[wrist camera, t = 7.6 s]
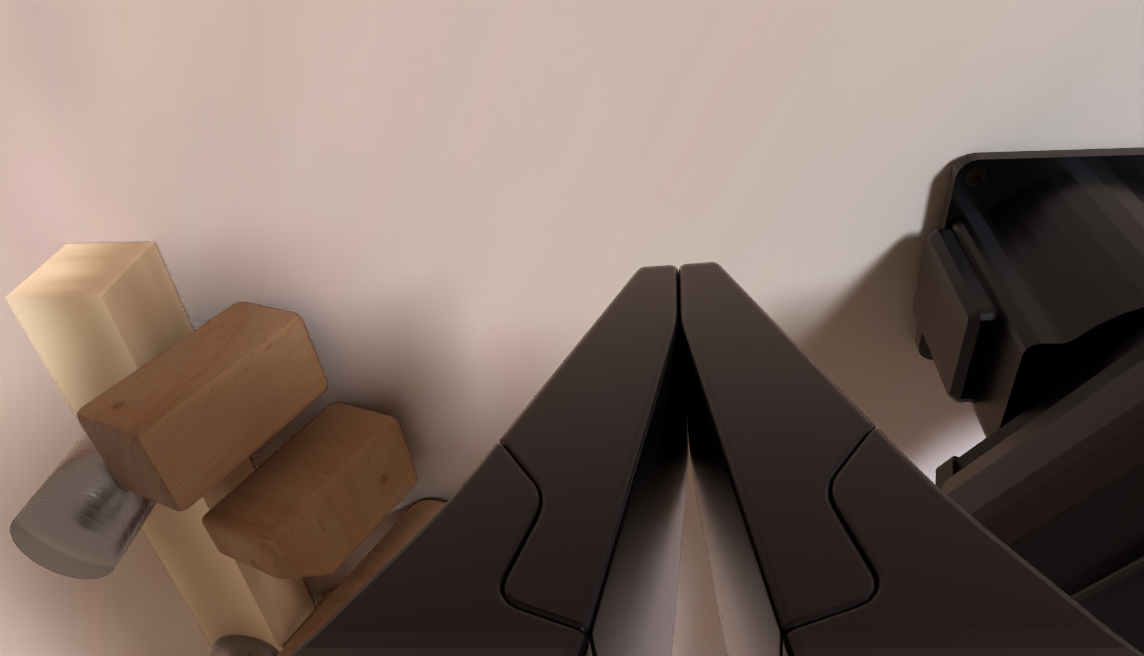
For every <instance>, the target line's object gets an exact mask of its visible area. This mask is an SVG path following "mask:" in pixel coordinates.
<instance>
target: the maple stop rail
mask: <svg viewBox="0 0 1144 656" xmlns="http://www.w3.org/2000/svg"><path fill="white" fill-rule="evenodd" d="M5 298H6V300H7V301H8V303H9V305H10V307H11V308H12V310H13V312H14V313H15V315H16V317H17V318H18V320H19V322H20V323H21V325H22V327H23V329H24V330H25V332H26V334H27V335H28V337H29V339H30V340H31V342H32V344H33V346H34V347H35V349H36V351H37V352H38V354H39V356H40V357H41V359H42V361H43V362H44V364H45V366H46V368H47V369H48V371H49V373H50V374H51V376H52V378H53V379H54V381H55V383H56V384H57V386H58V388H59V390H60V391H61V393H62V395H63V396H64V398H65V400H66V401H67V403H68V405H69V407H70V408H71V410H72V412H73V413H74V415H75V417H76V418H77V420H78V417H77V412H78V411H79V409H80V408H81V407H83V406H84V405H85V404H87V403H88V402H90V401H91V400H93V399H94V398H96V397H97V396H99V395H100V394H102V393H103V392H105V391H106V390H108V389H109V388H111V387H112V386H114V385H115V384H117V383H118V382H119V381H121V380H122V379H124V378H125V377H127V376H128V375H130V374H131V373H133V372H134V371H136V370H137V369H139V368H140V367H142V366H143V365H145V364H146V363H148V362H149V361H151V360H152V359H153V358H155V357H156V356H158V355H159V354H161V353H162V352H164V351H165V350H167V349H168V348H170V347H171V346H173V345H174V344H176V343H177V342H179V341H180V340H182V339H183V338H185V337H186V336H187V335H189V334H190V333H192V332H193V331H194V330H193V328H192V326H191V323H190V321H189V319H188V316H187V314H186V312H185V310H184V307H183V305H182V303H181V300H180V298H179V296H178V294H177V291H176V289H175V287H174V284H173V282H172V280H171V278H170V275H169V273H168V271H167V269H166V266H165V264H164V262H163V259H162V257H161V255H160V253H159V250H158V248H157V246H156V243H155V242H133V243H83V244H66V245H65V246H64V247H63V248H61V249H60V250H59V251H58V252H57V253H56V254H55V255H53V256H52V257H51V258H50V259H49V260H48V261H46V262H45V263H44V264H43V265H42V266H41V267H40V268H38V269H37V270H36V271H35V272H34V273H33V274H32V275H30V276H29V277H28V278H27V279H26V280H25V281H24V282H22V283H21V284H20V285H19V286H18V287H17V288H15V289H14V290H13V291H12V292H11V293H10V294H9V295H7V296H6V297H5ZM78 422H79V420H78ZM79 423H80V422H79ZM80 425H81V424H80ZM81 427H82V425H81ZM82 429H83V427H82ZM83 430H84V429H83ZM84 432H85V430H84ZM254 471H255V469H254V467H253V465H252V462H251V460H250V458H249V457H248V458H247V459H246V460H245V461H244V462H242V463H241V464H240V465H239V466H238V467H237V468H235V469H234V470H233V471H232V472H231V473H230V474H228V475H227V476H226V477H225V478H224V479H223V480H221V481H220V482H219V483H218V484H217V485H216V486H214V487H213V488H212V489H211V490H210V491H209V492H207V493H206V494H205V495H204V496H203V497H202V498H200V499H199V500H198V501H197V502H196V503H195V504H193V505H192V506H191V507H190V508H189V509H186V510H184V511H179V512H178V511H175V510H173V509H171V508H168V507H166V506H164V505H161V504H159V503H157V504H156V505H155V507H154V508H153V510H152V511H151V513H150V514H149V516H148V517H147V519H146V520H145V522H144V524H143V525H142V527H141V529H142V530H143V532H144V534H145V535H146V537H147V539H148V540H149V542H150V544H151V545H152V547H153V549H154V551H155V552H156V554H157V556H158V557H159V559H160V561H161V562H162V564H163V566H164V568H165V569H166V571H167V573H168V574H169V576H170V578H171V579H172V581H173V583H174V584H175V586H176V588H177V590H178V591H179V593H180V595H181V596H182V598H183V600H184V601H185V603H186V605H187V606H188V608H189V610H190V612H191V613H192V615H193V617H194V618H195V620H196V622H197V623H198V625H199V627H200V629H201V630H202V632H203V634H204V635H205V637H206V639H207V640H208V642H209V644H210V645H211V647H213V645H214V643H215V642H216V641H217V640H218V639H219V638H221V637H223V636H227V635H245V636H250V637H254V638H257V639H260V640H263V641H265V642H267V643H269V644H270V645H272V646H274V647H275V648H276V649H277V650H278V651H281V650H282V649H283V648H282V645H283V644H284V643H285V642H286V641H287V639H288V638H289V637H290V636H291V635H292V634H293V633H294V632H295V631H296V630H297V628H298V627H299V626H300V625H301V624H302V623H303V622H304V621H305V620H306V618H307V617H308V616H309V615H310V614H311V613H312V612H313V611H314V610H315V606H314V604H313V602H312V599H311V597H310V595H309V593H308V590H307V588H306V586H305V583H304V581H303V579H302V577H301V578H289V579H278V578H275V577H273V576H270V575H268V574H266V573H264V572H262V571H259V570H257V569H255V568H253V567H250V566H248V565H246V564H244V563H241V562H239V561H237V560H235V559H233V558H230V557H228V556H226V555H224V554H221V553H220V552H219V551H218V549H217V548H216V546H215V544H214V542H213V541H212V539H211V537H210V535H209V534H208V532H207V530H206V529H205V527H204V525H203V523H202V518H203V517H204V515H205V514H206V513H207V512H208V511H209V510H210V509H212V508H213V507H214V506H215V505H216V504H217V503H218V502H220V501H221V500H222V499H223V498H224V497H225V496H226V495H228V494H229V493H230V492H231V491H232V490H233V489H234V488H235V487H237V486H238V485H239V484H240V483H241V482H242V481H243V480H245V479H246V478H247V477H248V476H249V475H250V474H251V473H253V472H254Z"/></svg>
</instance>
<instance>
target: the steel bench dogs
mask: <svg viewBox="0 0 1144 656" xmlns="http://www.w3.org/2000/svg"><path fill="white" fill-rule="evenodd" d="M156 504H157V503H156V502H154V501H152V500H149V499H147V498H145V497H142V496H140V495H138V494H135V493H133V492H131V491H128V490H126V489H124V488H122V487H120V486H119V484H118V483H117V481H116V480H115V478H114V476H113V475H112V473H111V472H110V470H109V468H108V467H107V465H106V464H105V462H104V460H103V459H102V457H101V456H100V454H99V452H98V451H97V449H96V448H95V446H94V444H93V443H92V441H91V440H90V438H89V437H88V435H87V433H86V432H85V434H84V435H83V436H82V437H81V438H80V440H79V441H78V442H77V443H76V445H75V446H74V447H73V448H72V449H71V451H70V452H69V453H68V454H67V456H66V457H65V458H64V459H63V460H62V462H61V463H60V464H59V465H58V467H57V468H56V469H55V470H54V471H53V473H52V474H51V475H50V476H49V478H48V479H47V480H46V481H45V482H44V484H43V485H42V486H41V487H40V489H39V490H38V491H37V492H36V493H35V495H34V496H33V497H32V498H31V499H30V501H29V502H28V503H27V504H26V506H25V507H24V508H23V509H22V510H21V512H20V513H19V514H18V515H17V517H16V518H15V519H14V520H13V521H12V523H11V527H10V533H11V537H12V539H13V541H14V542H15V544H16V545H17V547H18V548H19V549H20V550H21V551H22V552H23V553H24V554H25V555H26V556H27V557H29V558H30V559H31V560H33V561H34V562H36V563H37V564H39V565H41V566H42V567H44V568H46V569H48V570H51V571H53V572H56V573H58V574H61V575H65V576H68V577H73V578H79V579H96V578H101V577H104V576H106V575H108V574H110V573H111V572H112V571H113V569H114V568H115V566H116V565H117V563H118V562H119V560H120V559H121V557H122V556H123V554H124V553H125V551H126V549H127V548H128V546H129V545H130V543H131V542H132V540H133V539H134V537H135V536H136V534H137V533H138V531H139V530H140V528H141V527H142V525H143V524H144V522H145V520H146V519H147V517H148V516H149V514H150V513H151V511H152V510H153V508H154V507H155V505H156ZM279 653H280V651H278V650H277V649H276V648H275V647H274V646H272V645H270V644H269V643H267V642H265V641H263V640H260V639H257V638H254V637H250V636H245V635H227V636H223V637H221V638H219V639H218V640H217V641H216V642H215V643H214V645H213V647H212V649H211V651H210V654H209V656H277V655H278V654H279Z"/></svg>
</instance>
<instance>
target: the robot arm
mask: <svg viewBox="0 0 1144 656" xmlns="http://www.w3.org/2000/svg"><path fill="white" fill-rule="evenodd" d="M977 168H979V169H982V171H981V173H980V174H979V176H977V177H976V178H974V179H970V180H968V179H965V177H966V175H967V173H968V172H970V171H971V170H973V169H977ZM913 311H914V313H915V316H916V318H917V320H918V323H919V325H918V330H917V334H916V345H917V348H918V350H919V353H920V354H921V356H923V357H924V358H926V359H931V360H934V362H935V364H936V367H937V369H938V372H939V374H940V377H941V379H942V382H943V384H944V387H945V389H946V391H947V394H948V395H949V396H950V397H951V398H952V399H953V400H954V401H955V402H956V403H971V404H972V406H973V409H974V411H975V413H976V416H977V418H978V420H979V422H980V425H981V427H982V429H983V432H984V434H985V436H986V439H984V440H983V441H982V442H980V443H979V444H977V445H976V446H975V447H973V448H972V449H970V450H969V451H968V452H966V453H965V454H963V455H962V456H961V457H956V456H953V457H951V458H950V459H949V460H947V461H946V462H944V463H943V464H942V465H940V466H939V467H938V468H937V469H936V485H935V484H934V483H933V482H932V481H931V480H930V479H929V478H928V477H927V476H926V475H925V474H924V473H923V472H922V471H921V470H919V469H918V468H917V467H916V466H915V465H914V464H913V463H912V462H911V461H910V460H909V459H908V458H907V457H906V456H905V455H904V454H903V453H902V452H901V451H900V450H899V449H898V448H897V447H896V446H895V445H894V444H893V443H892V442H891V441H890V440H889V439H888V438H887V437H886V436H885V435H884V434H883V433H882V431H880V430H879V429H875V425H874V424H873V423H872V422H871V421H870V420H869V419H868V418H867V416H866V415H865V414H864V413H863V412H862V411H861V410H860V409H859V408H858V407H857V406H856V405H855V404H854V403H853V402H852V401H851V400H850V399H849V398H848V397H847V396H846V395H845V394H844V393H843V392H842V391H841V390H840V389H839V388H838V387H837V386H836V385H835V384H834V383H833V381H832V380H831V379H830V378H829V377H828V376H827V375H826V374H825V373H824V372H823V371H822V370H821V369H820V368H819V367H818V366H817V365H816V364H815V363H814V362H813V361H812V360H811V359H810V358H809V357H808V356H807V355H806V354H805V353H804V352H803V351H802V350H801V349H800V347H799V346H798V345H797V344H796V343H795V342H794V341H793V340H792V339H791V338H790V337H789V336H788V335H787V334H786V333H785V332H784V331H783V330H782V329H781V328H780V327H779V326H778V325H777V324H776V323H775V322H774V321H773V320H772V319H771V318H770V317H769V316H768V315H767V314H766V312H765V311H764V310H763V309H762V308H761V307H760V306H759V305H758V304H757V303H756V302H755V301H754V300H753V299H752V298H751V297H750V296H749V295H748V294H747V293H746V292H745V291H744V290H743V289H742V288H741V287H740V286H739V285H738V284H737V283H736V282H735V281H734V280H733V278H732V277H731V276H730V275H729V274H728V273H727V272H726V271H725V270H724V269H723V268H722V267H721V266H720V265H719V264H717V263H715V262H708V263H694V264H684V265H682V266H681V267H680V269H679V274H678V269H677V268H676V267H675V266H672V265H666V266H652V267H642V268H640V269H639V270H638V271H637V272H636V273H635V274H634V276H633V277H632V278H631V279H630V280H629V282H628V283H627V284H626V285H625V287H624V288H623V289H622V290H621V291H620V293H619V294H618V295H617V296H616V298H615V299H614V300H613V301H612V303H611V304H610V305H609V306H608V307H607V309H606V310H605V311H604V312H603V314H602V315H601V316H600V317H599V319H598V320H597V321H596V322H595V323H594V325H593V326H592V327H591V328H590V330H589V331H588V332H587V333H586V334H585V336H584V337H583V338H582V339H581V341H580V342H579V343H578V344H577V346H576V347H575V348H574V349H573V350H572V352H571V353H570V354H569V355H568V357H567V358H566V359H565V360H564V362H563V363H562V364H561V365H560V366H559V368H558V369H557V370H556V371H555V373H554V374H553V375H552V376H551V378H550V379H549V380H548V381H547V382H546V384H545V385H544V386H543V387H542V389H541V390H540V391H539V392H538V393H537V395H536V396H535V397H534V398H533V400H532V401H531V402H530V403H529V405H528V406H527V407H526V408H525V409H524V411H523V412H522V413H521V414H520V416H519V417H518V418H517V419H516V421H515V422H514V423H513V424H512V425H511V427H510V428H509V429H508V430H507V432H506V433H505V434H504V435H503V436H502V438H501V439H500V444H496V445H495V446H494V447H493V448H492V450H491V451H490V452H489V453H488V454H487V456H486V457H485V458H484V459H483V461H482V462H481V463H480V464H479V465H478V467H477V468H476V469H475V470H474V471H473V472H472V474H471V475H470V476H469V477H468V478H467V479H466V481H465V482H464V483H463V484H462V485H461V486H460V487H459V489H458V490H457V491H456V492H455V493H454V494H453V495H452V497H451V498H450V499H449V500H448V501H447V502H446V503H445V504H444V505H443V506H442V507H441V508H440V509H439V510H438V512H437V513H436V514H435V515H434V516H433V517H432V518H431V519H430V520H429V521H428V522H427V523H426V524H425V525H424V526H423V527H422V528H421V529H420V530H419V531H418V532H417V533H416V534H415V535H414V536H413V537H412V538H411V539H410V540H409V541H408V542H407V543H406V544H405V545H404V546H403V547H402V548H401V549H400V550H399V551H398V552H397V553H396V554H395V555H394V556H393V557H392V558H391V559H390V560H389V561H388V562H387V563H386V564H385V565H383V566H382V567H381V568H380V569H379V570H378V571H377V572H376V573H375V574H374V575H373V576H372V577H371V578H370V579H369V580H368V581H367V582H366V583H365V584H364V585H363V586H362V587H361V588H360V589H359V590H358V591H357V592H356V593H355V594H354V595H353V596H352V597H351V598H350V599H349V600H348V601H346V602H345V603H344V604H343V605H342V606H341V607H340V608H339V609H338V610H337V611H336V612H335V613H334V614H333V615H332V616H331V617H330V618H329V619H328V620H327V621H326V622H325V623H324V624H323V625H322V626H321V627H320V628H319V629H318V630H317V631H316V632H315V633H313V634H312V635H311V636H310V637H309V638H308V639H307V640H306V641H305V642H303V643H302V644H301V645H300V646H299V647H298V648H297V649H296V650H294V651H293V652H292V653H290V654H289V655H288V656H671V654H672V643H673V632H674V621H675V610H676V599H677V588H678V578H679V567H680V556H681V545H682V534H683V523H684V512H685V501H686V490H687V478H688V461H689V457H688V437H689V449H690V461H691V467H692V473H693V480H694V485H695V490H696V496H697V501H698V506H699V511H700V517H701V522H702V527H703V532H704V538H705V543H706V548H707V553H708V559H709V564H710V569H711V574H712V580H713V585H714V590H715V595H716V601H717V606H718V611H719V616H720V622H721V627H722V632H723V637H724V643H725V648H726V653H727V656H1144V148H1116V149H1083V150H1051V151H1019V152H986V153H972V154H967V155H965V156H963V157H962V158H960V159H959V160H958V161H957V162H956V163H955V164H954V166H953V168H952V170H951V174H950V179H949V183H948V188H947V193H946V197H945V202H944V207H943V212H942V216H941V221H940V226H939V228H936V229H935V230H934V231H932V232H931V233H930V234H929V235H928V236H927V239H926V244H925V249H924V254H923V259H922V264H921V269H920V274H919V279H918V283H917V288H916V293H915V298H914V303H913ZM687 424H688V425H687Z"/></svg>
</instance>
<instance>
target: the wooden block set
mask: <svg viewBox="0 0 1144 656" xmlns="http://www.w3.org/2000/svg"><path fill="white" fill-rule="evenodd" d="M327 388H328V381H327V379H326V376H325V374H324V371H323V369H322V366H321V364H320V361H319V359H318V356H317V353H316V351H315V348H314V346H313V343H312V341H311V338H310V336H309V333H308V331H307V328H306V326H305V323H304V321H303V319H302V318H301V317H300V316H299V315H298V314H297V313H294V312H289V311H284V310H280V309H275V308H270V307H266V306H261V305H256V304H252V303H247V302H239V303H235V304H233V305H232V306H230V307H229V308H227V309H226V310H224V311H223V312H221V313H220V314H219V315H217V316H216V317H214V318H213V319H211V320H210V321H208V322H207V323H205V324H204V325H202V326H201V327H199V328H198V329H196V330H195V331H193V332H192V333H190V334H189V335H187V336H186V337H185V338H183V339H182V340H180V341H179V342H177V343H176V344H174V345H173V346H171V347H170V348H168V349H167V350H165V351H164V352H162V353H161V354H159V355H158V356H156V357H155V358H153V359H152V360H151V361H149V362H148V363H146V364H145V365H143V366H142V367H140V368H139V369H137V370H136V371H134V372H133V373H131V374H130V375H128V376H127V377H125V378H124V379H122V380H121V381H119V382H118V383H117V384H115V385H114V386H112V387H111V388H109V389H108V390H106V391H105V392H103V393H102V394H100V395H99V396H97V397H96V398H94V399H93V400H91V401H90V402H88V403H87V404H85V405H84V406H83V407H81V408H80V409H79V411H78V412H77V417H78V420H79V422H80V424H81V425H82V427H83V429H84V430H85V432H86V433H87V435H88V437H89V438H90V440H91V441H92V443H93V444H94V446H95V448H96V449H97V451H98V452H99V454H100V456H101V457H102V459H103V460H104V462H105V464H106V465H107V467H108V468H109V470H110V472H111V473H112V475H113V476H114V478H115V480H116V481H117V483H118V484H119V486H120V487H122V488H124V489H126V490H128V491H131V492H133V493H135V494H138V495H140V496H142V497H145V498H147V499H149V500H152V501H154V502H156V503H159V504H161V505H164V506H166V507H168V508H171V509H173V510H175V511H178V512H179V511H184V510H186V509H189V508H190V507H191V506H192V505H193V504H195V503H196V502H197V501H198V500H199V499H200V498H202V497H203V496H204V495H205V494H206V493H207V492H209V491H210V490H211V489H212V488H213V487H214V486H216V485H217V484H218V483H219V482H220V481H221V480H223V479H224V478H225V477H226V476H227V475H228V474H230V473H231V472H232V471H233V470H234V469H235V468H237V467H238V466H239V465H240V464H241V463H242V462H244V461H245V460H246V459H247V458H248V457H249V456H251V455H252V454H253V453H254V452H255V451H256V450H258V449H259V448H260V447H261V446H262V445H263V444H265V443H266V442H267V441H268V440H269V439H270V438H272V437H273V436H274V435H275V434H276V433H277V432H279V431H280V430H281V429H282V428H283V427H284V426H286V425H287V424H288V423H289V422H290V421H291V420H293V419H294V418H295V417H296V416H297V415H298V414H300V413H301V412H302V411H303V410H304V409H305V408H307V407H308V406H309V405H310V404H311V403H312V402H314V401H315V400H316V399H317V398H318V397H319V396H321V395H322V394H323V393H324V392H325V391H326V390H327ZM416 482H417V474H416V471H415V468H414V466H413V463H412V460H411V457H410V454H409V451H408V448H407V446H406V443H405V440H404V437H403V434H402V431H401V429H400V426H399V423H398V421H397V420H396V419H395V418H394V417H392V416H388V415H385V414H381V413H377V412H374V411H370V410H367V409H363V408H360V407H356V406H352V405H349V404H345V403H332V404H330V405H329V406H328V407H327V408H325V409H324V410H323V411H322V412H321V413H320V414H319V415H318V416H316V417H315V418H314V419H313V420H312V421H311V422H310V423H308V424H307V425H306V426H305V427H304V428H303V429H302V430H300V431H299V432H298V433H297V434H296V435H295V436H294V437H292V438H291V439H290V440H289V441H288V442H287V443H286V444H284V445H283V446H282V447H281V448H280V449H279V450H278V451H277V452H275V453H274V454H273V455H272V456H271V457H270V458H269V459H267V460H266V461H265V462H264V463H263V464H262V465H261V466H259V467H258V468H257V469H256V470H255V471H254V472H253V473H251V474H250V475H249V476H248V477H247V478H246V479H245V480H243V481H242V482H241V483H240V484H239V485H238V486H237V487H235V488H234V489H233V490H232V491H231V492H230V493H229V494H228V495H226V496H225V497H224V498H223V499H222V500H221V501H220V502H218V503H217V504H216V505H215V506H214V507H213V508H212V509H210V510H209V511H208V512H207V513H206V514H205V515H204V517H203V518H202V523H203V525H204V527H205V529H206V530H207V532H208V534H209V535H210V537H211V539H212V541H213V542H214V544H215V546H216V548H217V549H218V551H219V552H220V553H221V554H224V555H226V556H228V557H230V558H233V559H235V560H237V561H239V562H241V563H244V564H246V565H248V566H250V567H253V568H255V569H257V570H259V571H262V572H264V573H266V574H268V575H270V576H273V577H275V578H278V579H289V578H301V577H313V576H324V575H330V574H332V573H333V572H335V571H336V570H337V569H338V568H339V567H340V565H341V564H342V563H343V562H344V561H345V560H346V559H347V558H348V557H349V556H350V555H351V554H352V552H353V551H354V550H355V549H356V548H357V547H358V546H359V545H360V544H361V543H362V542H363V540H364V539H365V538H366V537H367V536H368V535H369V534H370V533H371V532H372V531H373V530H374V529H375V527H376V526H377V525H378V524H379V523H380V522H381V521H382V520H383V519H384V518H385V517H386V516H387V514H388V513H389V512H390V511H391V510H392V509H393V508H394V507H395V506H396V505H397V504H398V503H399V501H400V500H401V499H402V498H403V497H404V496H405V495H406V494H407V493H408V492H409V491H410V490H411V488H412V487H413V486H414V485H415V484H416ZM444 504H445V502H440V501H436V500H423V501H420V502H417V503H416V504H414V505H413V506H411V507H410V508H409V509H408V510H407V511H406V513H405V514H404V515H403V516H402V517H401V518H400V519H399V520H398V521H397V523H396V524H395V525H394V526H393V527H392V528H391V529H390V530H389V531H388V533H387V534H386V535H385V536H384V537H383V538H382V539H381V540H380V541H379V543H378V544H377V545H376V546H375V547H374V548H373V549H372V550H371V551H370V553H369V554H368V555H367V556H366V557H365V558H364V559H363V560H362V561H361V563H360V564H359V565H358V566H357V567H356V568H355V569H354V570H353V571H352V573H351V574H350V575H349V576H348V577H347V578H346V579H345V580H344V581H343V583H342V584H341V585H340V586H339V587H335V588H334V589H333V590H332V591H331V592H330V593H329V594H328V595H327V596H326V597H325V599H324V600H323V601H322V602H321V603H320V604H319V605H318V606H317V607H316V608H315V610H314V611H313V612H312V613H311V614H310V615H309V616H308V617H307V618H306V620H305V621H304V622H303V623H302V624H301V625H300V626H299V627H298V628H297V630H296V631H295V632H294V633H293V634H292V635H291V636H290V637H289V638H288V639H287V641H286V642H285V643H284V644H283V645H282V648H283V649H282V650H281V651H280V653H279V654H278V655H277V656H288V655H289V654H290V653H292V652H293V651H294V650H296V649H297V648H298V647H299V646H300V645H301V644H302V643H303V642H305V641H306V640H307V639H308V638H309V637H310V636H311V635H312V634H313V633H315V632H316V631H317V630H318V629H319V628H320V627H321V626H322V625H323V624H324V623H325V622H326V621H327V620H328V619H329V618H330V617H331V616H332V615H333V614H334V613H335V612H336V611H337V610H338V609H339V608H340V607H341V606H342V605H343V604H344V603H345V602H346V601H348V600H349V599H350V598H351V597H352V596H353V595H354V594H355V593H356V592H357V591H358V590H359V589H360V588H361V587H362V586H363V585H364V584H365V583H366V582H367V581H368V580H369V579H370V578H371V577H372V576H373V575H374V574H375V573H376V572H377V571H378V570H379V569H380V568H381V567H382V566H383V565H385V564H386V563H387V562H388V561H389V560H390V559H391V558H392V557H393V556H394V555H395V554H396V553H397V552H398V551H399V550H400V549H401V548H402V547H403V546H404V545H405V544H406V543H407V542H408V541H409V540H410V539H411V538H412V537H413V536H414V535H415V534H416V533H417V532H418V531H419V530H420V529H421V528H422V527H423V526H424V525H425V524H426V523H427V522H428V521H429V520H430V519H431V518H432V517H433V516H434V515H435V514H436V513H437V512H438V510H439V509H440V508H441V507H442V506H443V505H444Z"/></svg>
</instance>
